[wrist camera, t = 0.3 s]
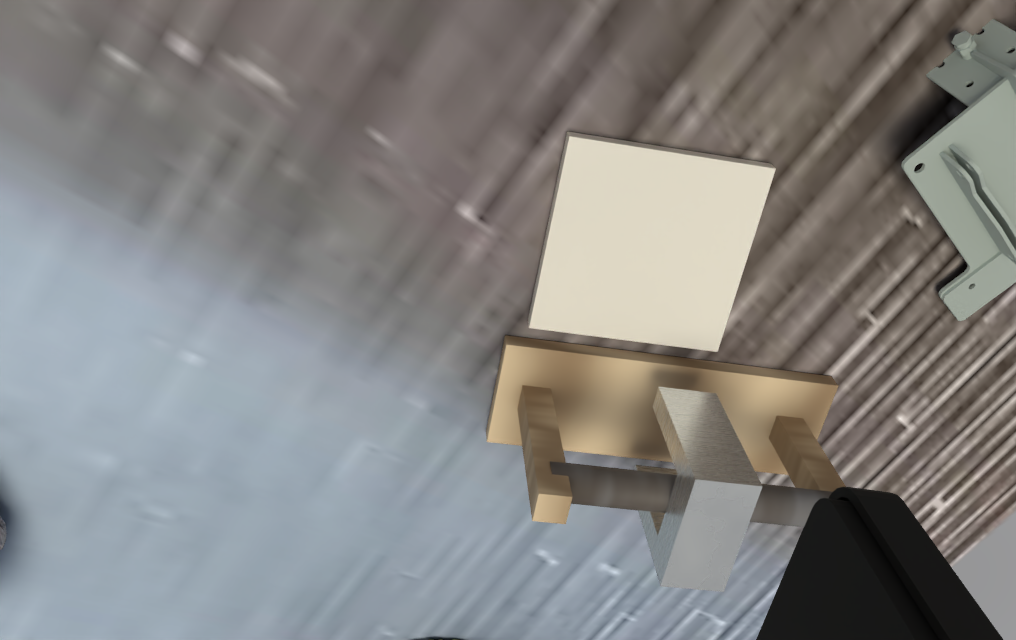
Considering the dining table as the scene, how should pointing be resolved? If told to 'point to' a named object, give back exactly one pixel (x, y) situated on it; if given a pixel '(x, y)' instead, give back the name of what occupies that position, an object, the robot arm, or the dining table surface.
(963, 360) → the dining table surface
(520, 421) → the rail stand
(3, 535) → the pumice stone
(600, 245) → the square tile
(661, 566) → the notched grey block
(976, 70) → the metal bracket
